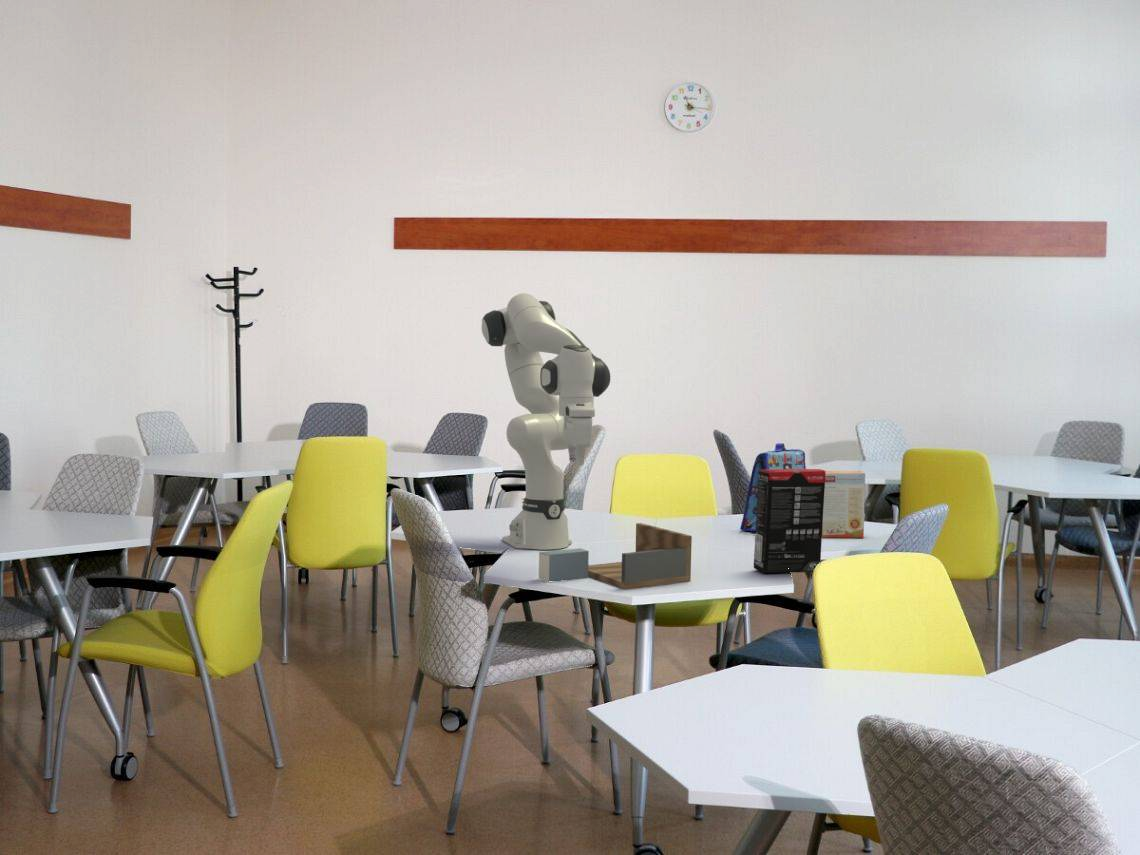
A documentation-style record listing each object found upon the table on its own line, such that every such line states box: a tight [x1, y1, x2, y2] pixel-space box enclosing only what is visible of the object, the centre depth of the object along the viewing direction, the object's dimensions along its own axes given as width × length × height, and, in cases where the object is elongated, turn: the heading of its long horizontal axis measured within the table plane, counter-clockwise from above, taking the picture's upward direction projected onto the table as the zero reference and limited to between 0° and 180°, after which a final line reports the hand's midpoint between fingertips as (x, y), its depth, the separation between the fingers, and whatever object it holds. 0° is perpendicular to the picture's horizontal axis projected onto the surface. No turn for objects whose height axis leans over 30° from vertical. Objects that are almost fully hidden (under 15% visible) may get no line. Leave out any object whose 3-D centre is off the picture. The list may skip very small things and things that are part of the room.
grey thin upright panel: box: [621, 547, 687, 583], centre depth 257 cm, size 2×18×7 cm, turn 121°
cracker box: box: [822, 470, 866, 539], centre depth 332 cm, size 14×6×21 cm, turn 92°
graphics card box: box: [753, 468, 826, 574], centre depth 276 cm, size 17×7×27 cm, turn 107°
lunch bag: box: [740, 442, 807, 533], centre depth 342 cm, size 22×14×29 cm, turn 131°
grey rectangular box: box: [538, 548, 590, 583], centre depth 263 cm, size 4×12×7 cm, turn 121°
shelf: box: [588, 522, 693, 590], centre depth 266 cm, size 22×20×12 cm
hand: (576, 463), depth 266 cm, fingers open, 8 cm apart
